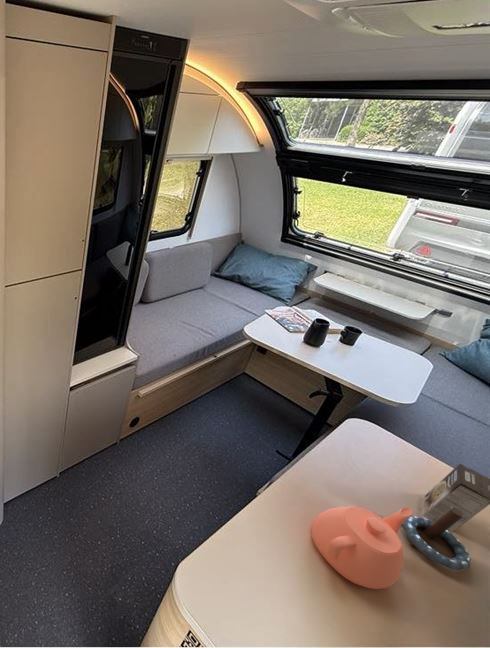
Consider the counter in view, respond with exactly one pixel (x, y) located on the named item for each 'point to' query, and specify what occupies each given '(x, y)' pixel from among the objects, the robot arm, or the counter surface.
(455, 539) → the ring
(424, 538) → the post
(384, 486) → the counter surface
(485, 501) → the coffee box
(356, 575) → the teapot
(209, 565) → the counter surface
